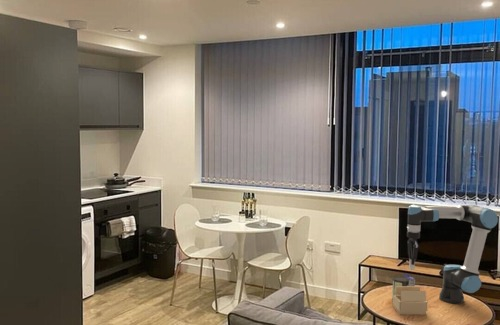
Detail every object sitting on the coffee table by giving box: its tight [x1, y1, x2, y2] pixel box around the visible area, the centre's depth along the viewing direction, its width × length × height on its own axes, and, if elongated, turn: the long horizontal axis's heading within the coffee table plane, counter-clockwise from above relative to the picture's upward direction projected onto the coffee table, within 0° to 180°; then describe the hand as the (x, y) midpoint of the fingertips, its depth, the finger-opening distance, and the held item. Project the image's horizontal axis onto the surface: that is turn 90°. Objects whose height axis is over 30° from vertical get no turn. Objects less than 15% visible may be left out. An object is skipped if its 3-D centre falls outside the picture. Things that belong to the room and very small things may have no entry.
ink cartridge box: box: [403, 273, 416, 286], centre depth 335 cm, size 10×6×14 cm, turn 92°
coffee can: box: [391, 276, 409, 301], centre depth 326 cm, size 10×10×14 cm
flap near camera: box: [401, 290, 427, 301], centre depth 301 cm, size 15×6×1 cm
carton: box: [392, 295, 428, 316], centre depth 307 cm, size 17×12×8 cm
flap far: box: [395, 285, 421, 294], centre depth 311 cm, size 15×6×1 cm
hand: (411, 269), depth 305 cm, fingers closed
